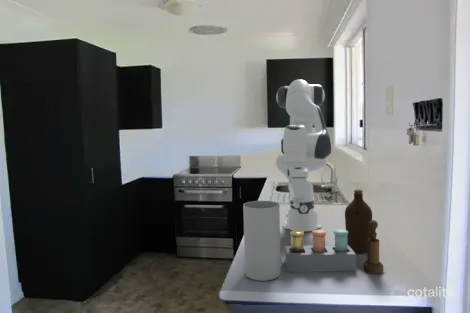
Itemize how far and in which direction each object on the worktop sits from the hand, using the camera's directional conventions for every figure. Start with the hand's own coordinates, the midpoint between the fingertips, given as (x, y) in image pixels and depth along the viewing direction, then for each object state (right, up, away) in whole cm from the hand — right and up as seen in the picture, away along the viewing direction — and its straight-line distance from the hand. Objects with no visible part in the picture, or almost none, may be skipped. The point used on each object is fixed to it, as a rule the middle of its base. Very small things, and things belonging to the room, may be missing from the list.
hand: (296, 207), depth 134 cm
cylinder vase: (-13, -23, -4) cm, 27 cm away
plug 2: (+9, -17, +1) cm, 19 cm away
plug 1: (+1, -17, +2) cm, 17 cm away
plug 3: (+17, -17, +1) cm, 23 cm away
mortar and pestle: (+26, -22, -4) cm, 35 cm away
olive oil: (+28, -20, +17) cm, 39 cm away
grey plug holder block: (+9, -22, +2) cm, 24 cm away
